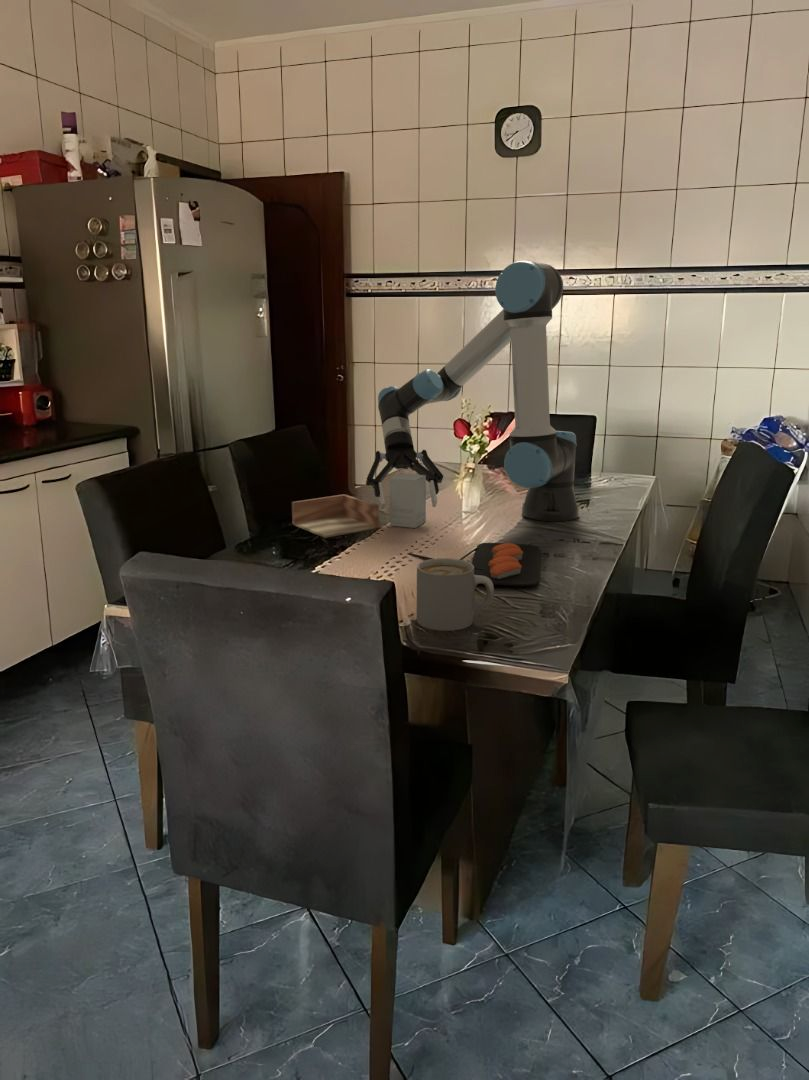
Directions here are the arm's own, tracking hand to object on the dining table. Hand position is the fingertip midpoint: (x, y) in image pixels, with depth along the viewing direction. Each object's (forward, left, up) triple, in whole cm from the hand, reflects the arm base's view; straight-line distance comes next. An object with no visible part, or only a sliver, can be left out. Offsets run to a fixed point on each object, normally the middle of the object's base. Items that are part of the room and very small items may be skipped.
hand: (409, 505), depth 205 cm
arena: (+11, +16, -5) cm, 20 cm away
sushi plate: (-35, +10, -6) cm, 37 cm away
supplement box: (+2, -1, -6) cm, 6 cm away
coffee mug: (-58, +34, -6) cm, 68 cm away
